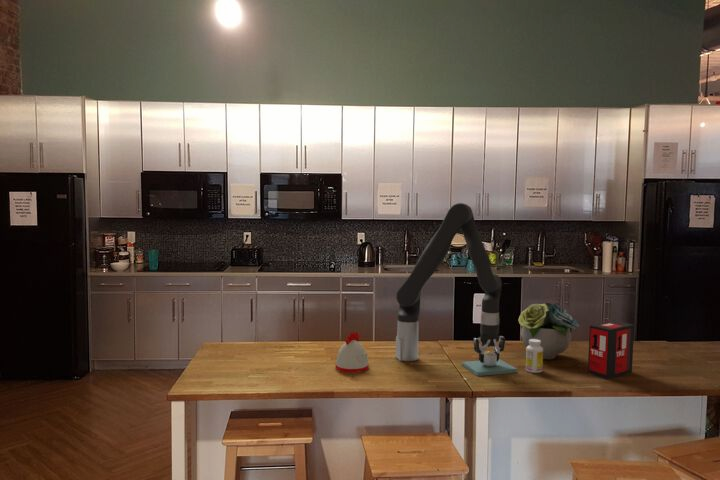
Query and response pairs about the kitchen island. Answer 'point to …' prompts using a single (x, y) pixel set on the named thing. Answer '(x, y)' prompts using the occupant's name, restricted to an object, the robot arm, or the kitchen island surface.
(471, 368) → the post stand
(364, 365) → the grey beanie hat
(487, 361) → the steel hub
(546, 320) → the flower arrangement
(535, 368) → the supplement bottle
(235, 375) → the kitchen island surface
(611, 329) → the cleaning product box
